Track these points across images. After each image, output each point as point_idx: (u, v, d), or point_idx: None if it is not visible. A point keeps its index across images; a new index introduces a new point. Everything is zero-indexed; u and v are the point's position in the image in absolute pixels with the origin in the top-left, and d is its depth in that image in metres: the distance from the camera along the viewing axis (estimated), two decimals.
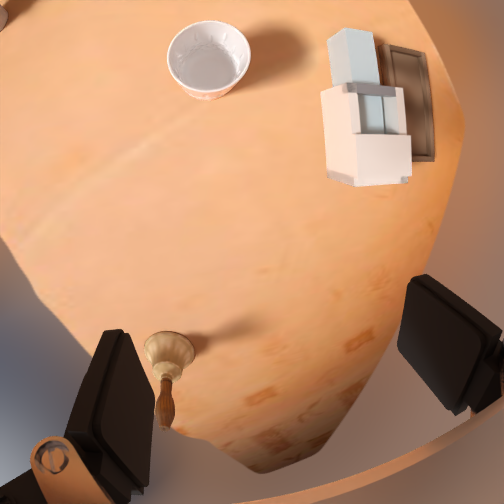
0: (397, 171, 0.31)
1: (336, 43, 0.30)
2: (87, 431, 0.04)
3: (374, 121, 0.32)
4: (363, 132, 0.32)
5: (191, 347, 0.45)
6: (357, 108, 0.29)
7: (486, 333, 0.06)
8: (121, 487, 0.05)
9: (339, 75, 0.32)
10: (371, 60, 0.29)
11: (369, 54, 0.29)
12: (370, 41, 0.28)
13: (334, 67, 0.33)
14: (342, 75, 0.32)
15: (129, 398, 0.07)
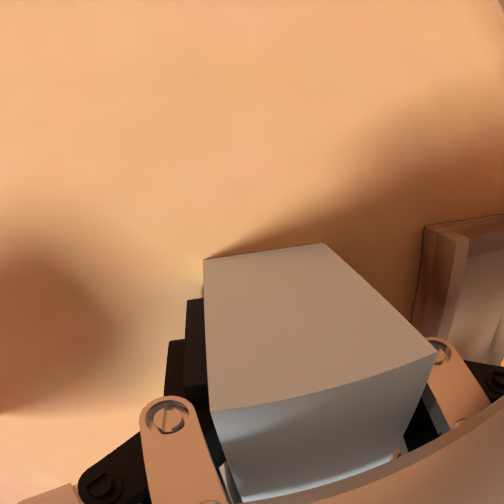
0: None
1: None
2: None
3: None
4: None
5: None
6: None
7: None
8: None
9: None
10: None
11: (362, 462, 0.06)
12: (397, 413, 0.05)
13: None
14: None
15: None
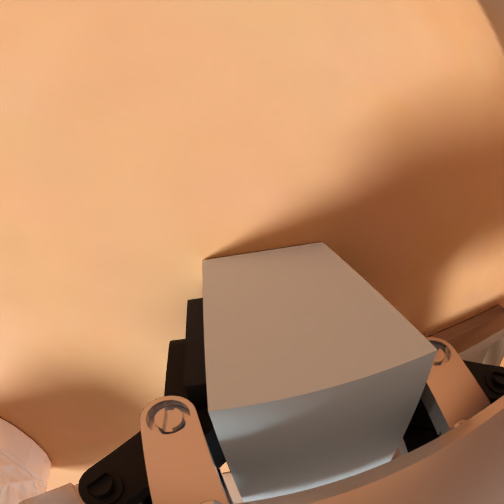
0: None
1: None
2: None
3: None
4: None
5: None
6: None
7: None
8: None
9: None
10: None
11: (362, 461, 0.05)
12: (397, 412, 0.05)
13: None
14: None
15: None
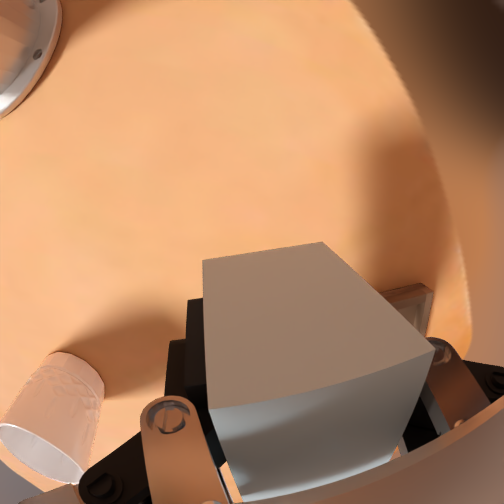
0: None
1: None
2: None
3: None
4: None
5: None
6: None
7: None
8: None
9: None
10: (361, 472, 0.06)
11: (361, 460, 0.06)
12: (396, 411, 0.05)
13: None
14: None
15: None
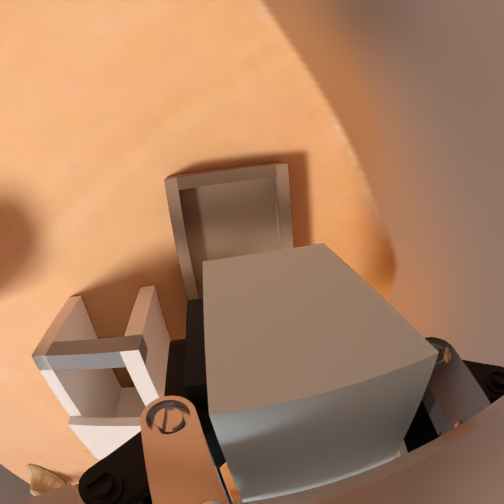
0: None
1: None
2: None
3: None
4: None
5: (59, 479, 0.32)
6: (62, 389, 0.15)
7: None
8: None
9: None
10: None
11: (363, 463, 0.05)
12: (398, 415, 0.05)
13: None
14: None
15: None
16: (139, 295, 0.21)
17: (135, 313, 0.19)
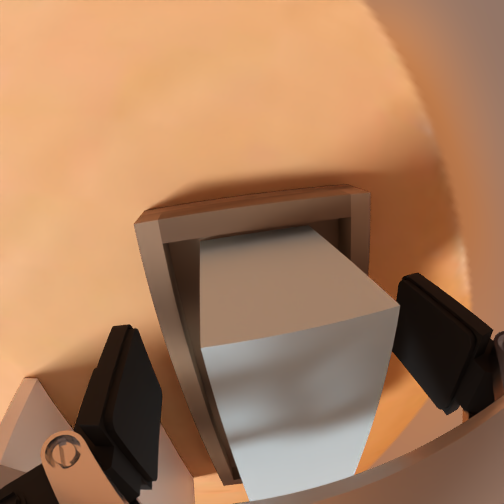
0: None
1: None
2: (99, 424, 0.05)
3: None
4: None
5: None
6: None
7: (476, 332, 0.06)
8: (131, 481, 0.05)
9: None
10: (345, 435, 0.07)
11: (344, 420, 0.07)
12: (370, 367, 0.06)
13: None
14: None
15: (138, 393, 0.07)
16: None
17: None
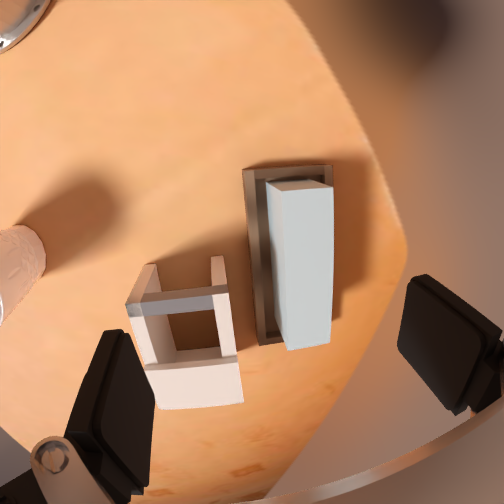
0: (218, 400, 0.24)
1: (274, 204, 0.24)
2: (87, 431, 0.04)
3: (316, 331, 0.26)
4: (297, 347, 0.26)
5: None
6: (146, 336, 0.22)
7: (486, 333, 0.06)
8: (121, 487, 0.05)
9: (275, 253, 0.26)
10: (324, 243, 0.23)
11: (321, 232, 0.22)
12: (327, 208, 0.22)
13: (272, 235, 0.27)
14: (278, 260, 0.25)
15: (129, 398, 0.07)
16: (212, 261, 0.28)
17: (215, 272, 0.25)
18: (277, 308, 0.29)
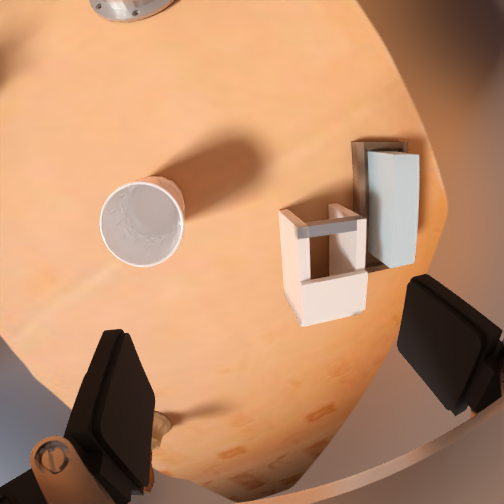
0: (348, 309, 0.33)
1: (380, 164, 0.33)
2: (87, 431, 0.04)
3: (407, 253, 0.34)
4: (396, 265, 0.35)
5: (168, 421, 0.47)
6: (308, 254, 0.31)
7: (486, 333, 0.06)
8: (121, 487, 0.05)
9: (378, 199, 0.35)
10: (414, 189, 0.32)
11: (413, 182, 0.31)
12: (416, 167, 0.31)
13: (374, 187, 0.36)
14: (382, 202, 0.34)
15: (129, 398, 0.07)
16: (333, 206, 0.37)
17: (343, 210, 0.34)
18: (375, 241, 0.38)
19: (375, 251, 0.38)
